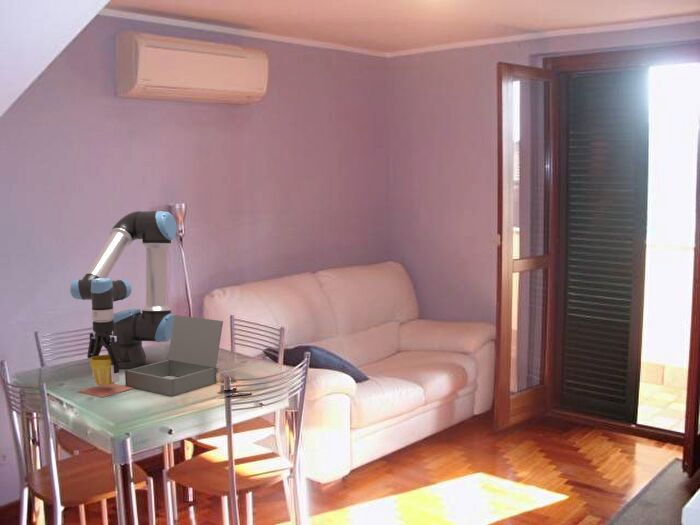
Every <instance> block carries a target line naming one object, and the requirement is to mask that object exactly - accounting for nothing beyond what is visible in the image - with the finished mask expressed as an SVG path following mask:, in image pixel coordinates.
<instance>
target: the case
mask: <svg viewBox="0 0 700 525" xmlns="http://www.w3.org/2000/svg"><path fill="white" fill-rule="evenodd" d="M174 316H175V318H174V324H173V330H172V336H171V339H170V342H169V343H170V344H169V350H168V356H167V359H166V360H162V361H158V362H157V361H156V362H153V363H150V364H146V365H144V366H140V367H135V368H128V369H126V370H125V369H124V370H125V371H124V373H125V374H124V375H125V376H124V380H125V386H127V387H132V388H134V389H136V390H142V391H146V392H151V393H156V394H160V395H163V396H164V395H165V396H169V397H175V396H178V395H182V394H185V393H188V392H192V391H194V390H195V391H196V390H198V389H202V388H205V387H208V386H212V385H215V384H217V369H218V368H217V366H218V365H217V363H218V357H219V351H220V345H221V340H222V339H221V337H222V331H223V324H224V321H223V320H218V319H210V318H208V319H207V318H201V317H195V316H187V315H178V314H174ZM167 376H174V377H175V378H169V377H167Z"/></svg>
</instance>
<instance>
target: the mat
mask: <svg viewBox="0 0 700 525" xmlns="http://www.w3.org/2000/svg"><path fill="white" fill-rule="evenodd" d="M134 389H135V388H132V387H127V386H126V385H122V384H117V383H114V384H110V385H96V386H93V387H88V388H86V389H85V388H84V389H81V390H78V393H81V394H86V395H90V396H95V397H99V398H102V399H103V398H105V397H109V396H115V395H117V394H121V393H124V392H128V391H132V390H134Z"/></svg>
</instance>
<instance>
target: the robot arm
mask: <svg viewBox="0 0 700 525" xmlns="http://www.w3.org/2000/svg"><path fill="white" fill-rule="evenodd" d="M177 232H178V227H177V222H176V219H175V218H174V216H173V214H172V213H170V212H168V211H161V210H156V211H155V210H153V211H151V210H150V211H148V210H147V211H145V210H144V211H141V210H137V211H132V212H130V213H127V214H126V215H125V216H122V217H121V218H120V219H119V220H118V221H117V222H115V224H114V225H113V227H112V228H111V230H110V232H109V237H108V239H107V241H106V242H105V244H104V245H103V246H102V247H101V250H100V251H99V253H98V254H97V256H96V257H95V259H94V261H92V263H91V265H90V266H89V268H88V269H87V271H86V273H85V275H84V276H83V277H82V279H80V278H79V279H75V280H73V281H72V282H71V285H70V288H69V289H70V295H71V296H72V298H73V299H76V300H83V301H87V300H88V301H89V300H90V301H91V312H92V314H91V315H92V321H93V322H92V331H93V332H91V333H89V344H88V348H87V356H86V357H87V359H90V358H91V357H94V356H99V355H101V351H102V348H103V347H104V348H105V349H106V351H107V355H109V356H110V359H111V361H112V364H111V379H112V382H115V383H116V382H119V381H120V377H119V376H120V374H119V373H120V369H124V370H125V369H133V368H137V367H141V366H145V365H148V357H147V355H146V353H145V350H144V347H143V342H157V343H164V342H166V343H167V342H169V341H171V336H172V330H173V324H174V318H175V314H173V313H172V308H171V307H169V306H168V247H170V246H171V245H172V240H174V239H175V238H176V236H177V234H178V233H177ZM136 240H141V241H142V245H143V246H144V247H145V306H144V307H143V308H142V310H141V308H140V309H139V308H132V309H124V310H120V311H117V312H114V302H118V301H123V300H125V299H127V298H128V297H130V296H131V293H132V290H133V289H132V285H131V283H130V282H129V281H127V280H126V279H117V280H112V278H109V275H110V274H111V272H112V270H113V268H114V267H115V265H116V264H117V262H118V260H119V258H120V257H121V256H122V254H123V253H124V251H125V249H126V248H127V247H128V246H131V244H132V243H133V242H134V241H136ZM91 369H92V368H91ZM91 371H92V379H95V377H94V373H93V369H92V370H91Z"/></svg>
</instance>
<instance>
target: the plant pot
mask: <svg viewBox="0 0 700 525" xmlns="http://www.w3.org/2000/svg"><path fill="white" fill-rule="evenodd" d="M111 364H112V361H111V359H110V356H109V354H99V356H94V357H91V358H89V365H90V367H89V368H91V369H93V371H92V374H93V373H94V377H95V378H94V380H95V384H96V386H99V385H110V384H116V382H112V379H111Z"/></svg>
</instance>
